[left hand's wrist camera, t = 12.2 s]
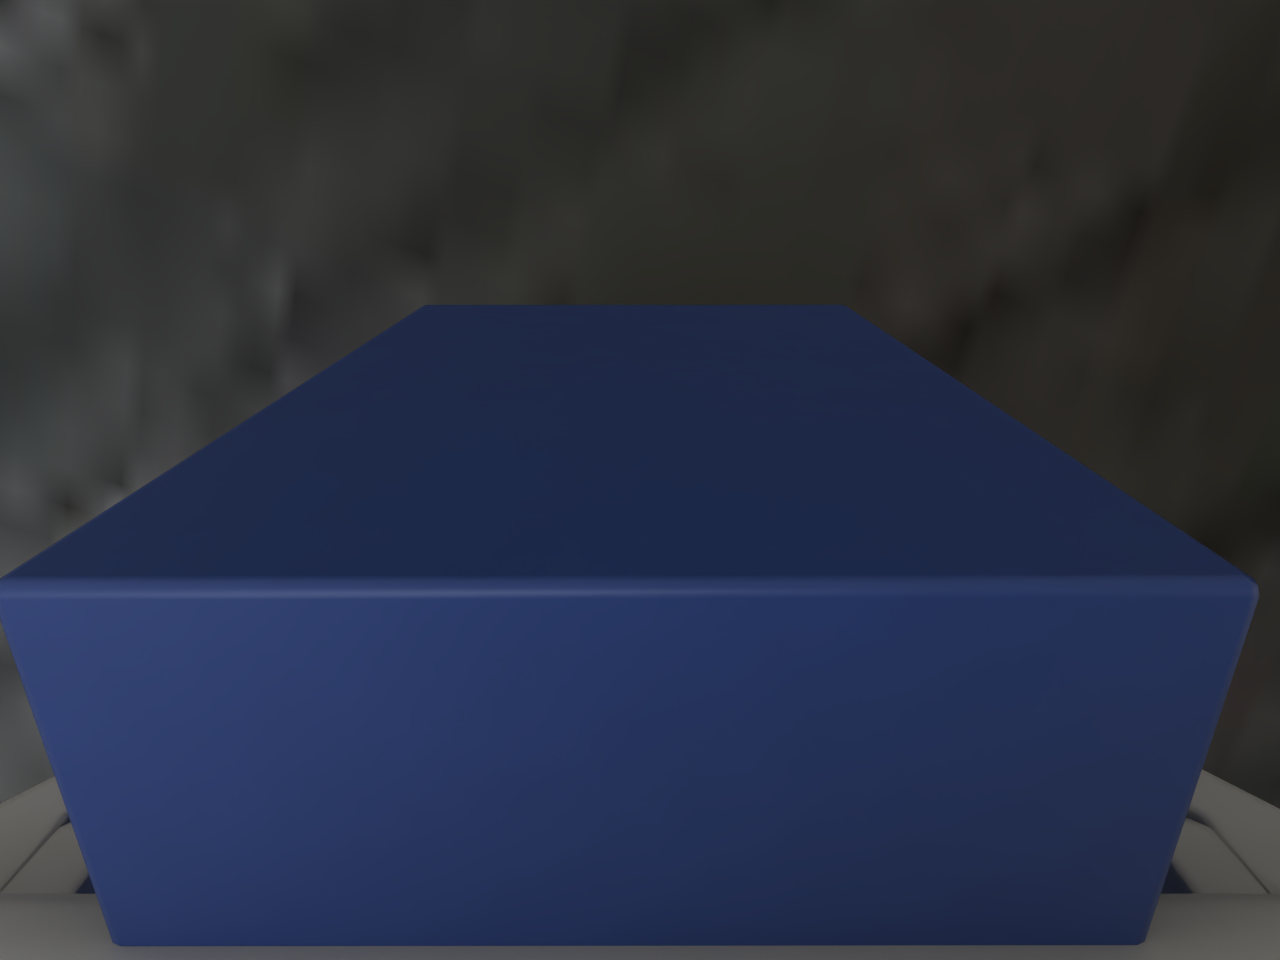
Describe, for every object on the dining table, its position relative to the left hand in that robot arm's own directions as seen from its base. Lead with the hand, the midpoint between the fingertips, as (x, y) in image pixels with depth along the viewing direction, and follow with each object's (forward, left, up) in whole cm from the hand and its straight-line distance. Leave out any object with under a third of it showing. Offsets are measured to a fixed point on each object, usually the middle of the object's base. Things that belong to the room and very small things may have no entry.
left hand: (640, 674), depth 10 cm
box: (+6, +6, -3) cm, 9 cm away
